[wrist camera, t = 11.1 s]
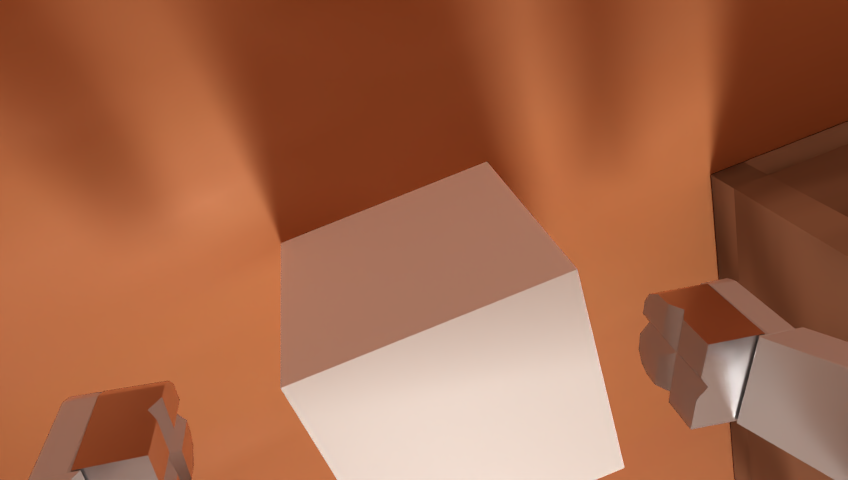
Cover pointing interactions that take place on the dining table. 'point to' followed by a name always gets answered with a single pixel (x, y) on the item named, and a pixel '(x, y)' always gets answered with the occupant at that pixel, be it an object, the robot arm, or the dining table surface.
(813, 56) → the dining table surface
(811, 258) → the box
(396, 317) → the cube
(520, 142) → the dining table surface
